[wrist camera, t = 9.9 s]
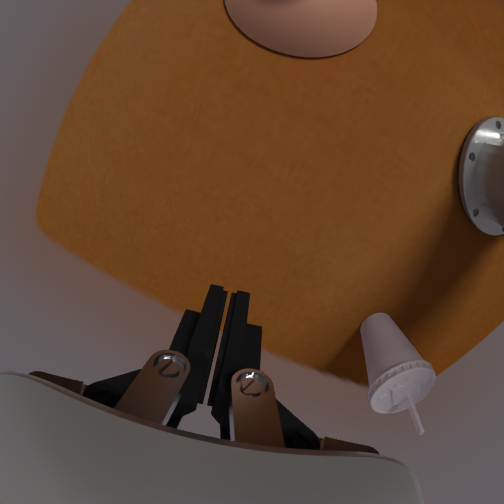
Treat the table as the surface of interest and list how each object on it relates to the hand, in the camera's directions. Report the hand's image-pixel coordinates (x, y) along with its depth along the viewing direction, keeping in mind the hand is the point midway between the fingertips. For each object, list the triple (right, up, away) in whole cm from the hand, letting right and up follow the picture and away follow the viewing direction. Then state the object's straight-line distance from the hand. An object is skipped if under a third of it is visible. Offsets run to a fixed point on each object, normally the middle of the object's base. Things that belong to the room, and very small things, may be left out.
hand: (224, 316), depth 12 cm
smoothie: (+15, -5, +16) cm, 23 cm away
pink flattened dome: (+5, +24, +4) cm, 25 cm away
